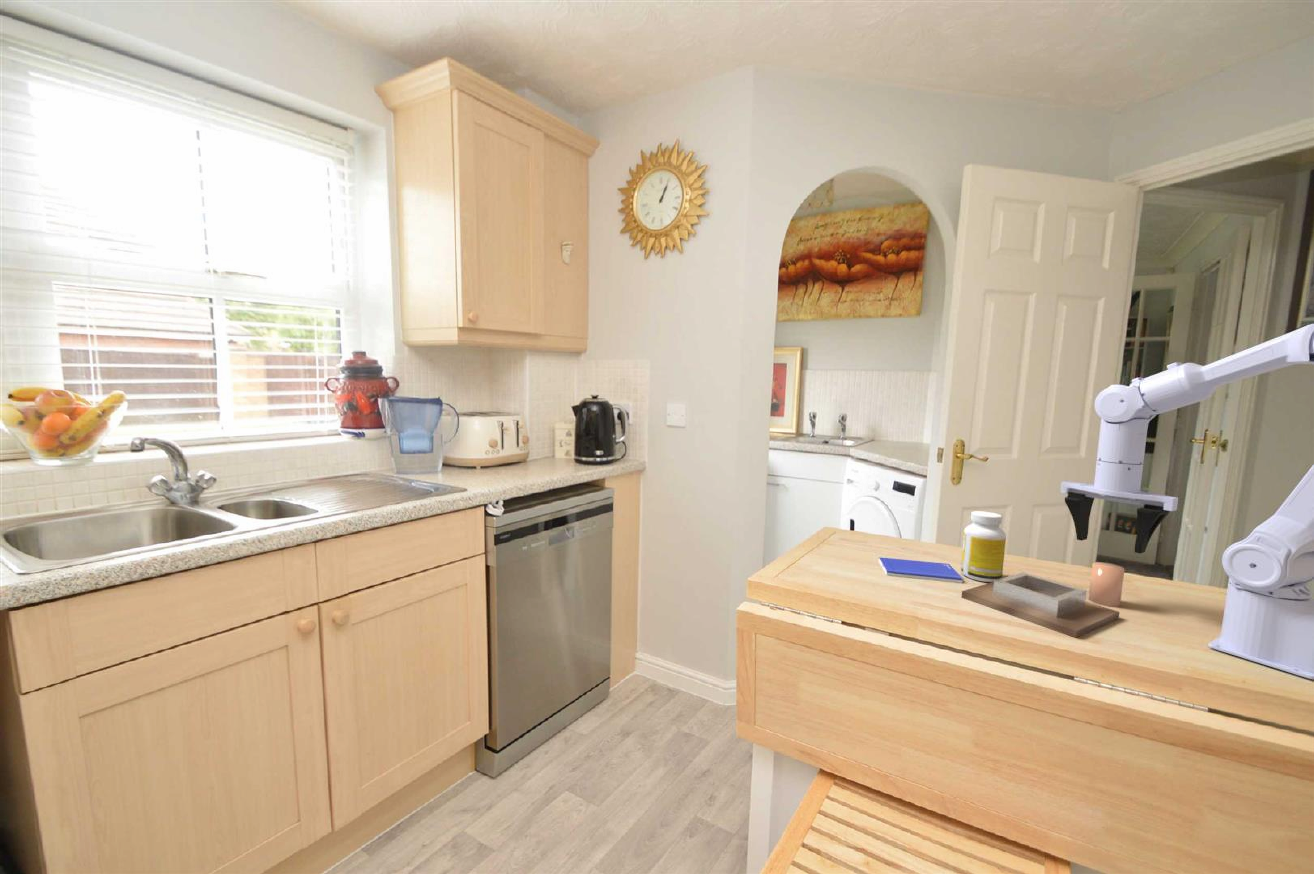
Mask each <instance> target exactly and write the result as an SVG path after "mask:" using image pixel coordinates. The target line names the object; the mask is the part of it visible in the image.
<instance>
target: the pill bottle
mask: <svg viewBox="0 0 1314 874" xmlns="http://www.w3.org/2000/svg"><path fill="white" fill-rule="evenodd" d="M1002 518H1003V517H1002V515H1001V514H999V513H995V512H989V511H982V510H975V511H971V515H970V520H971V521H972V523H971V524H969V525H967V526H965V528H964V531H963V540H962V541H963V543H962V550H961V552H962V553H961V554H962V555H961V565H960V572H961V574H962V575H963V576H965V577H966V578H969V579H971V580H975V581H979V582H986V583H992V582H994V581H995V580H999V579H1002V578H1003V571H1004V562H1005V551H1006V550H1005V549H1006V541H1007V535H1006V532H1005V531H1004V530H1003V529H1002V528H1000V525H1001V524H1002Z"/></svg>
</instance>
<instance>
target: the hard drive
mask: <svg viewBox="0 0 1314 874" xmlns="http://www.w3.org/2000/svg"><path fill="white" fill-rule="evenodd" d="M878 563H879V565H880V567H881V568H882V571H883V572H884V574H885V575H886V576H887V577H888V576H889V577H899V578H909V579H916V580H917V579H919V580H926V581H927V580H929V581H939V582H946V583H947V582H948V583H955V584H956V583H959V584H962V583H963V577H962V576H961V574H959V573H958V572H957V570H956V569H954V567H953V566H952V565H951V564H950V563H943V562H933V561H921V560H912V559H911V560H910V559H901V558H900V559H899V558H890V557H878Z"/></svg>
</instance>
